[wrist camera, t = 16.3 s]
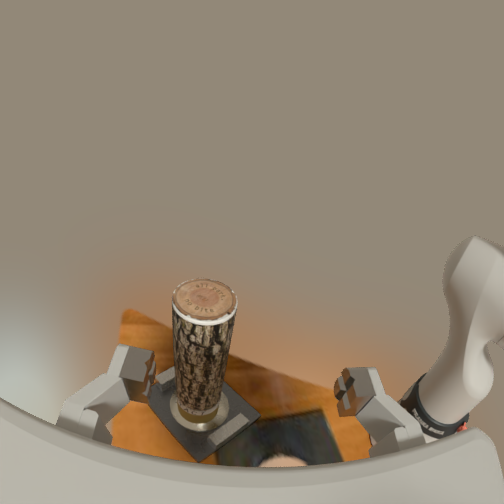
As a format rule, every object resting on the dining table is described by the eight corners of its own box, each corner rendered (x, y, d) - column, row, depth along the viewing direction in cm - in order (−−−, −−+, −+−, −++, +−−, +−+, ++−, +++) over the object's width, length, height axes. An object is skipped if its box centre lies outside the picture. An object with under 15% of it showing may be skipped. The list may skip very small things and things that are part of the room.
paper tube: (194, 385, 45) (201, 270, 33) (226, 406, 43) (250, 298, 30) (169, 408, 40) (158, 297, 27) (201, 433, 37) (209, 332, 25)
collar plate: (260, 417, 43) (264, 408, 41) (198, 463, 34) (198, 457, 32) (201, 361, 52) (201, 350, 50) (140, 394, 42) (137, 384, 40)
